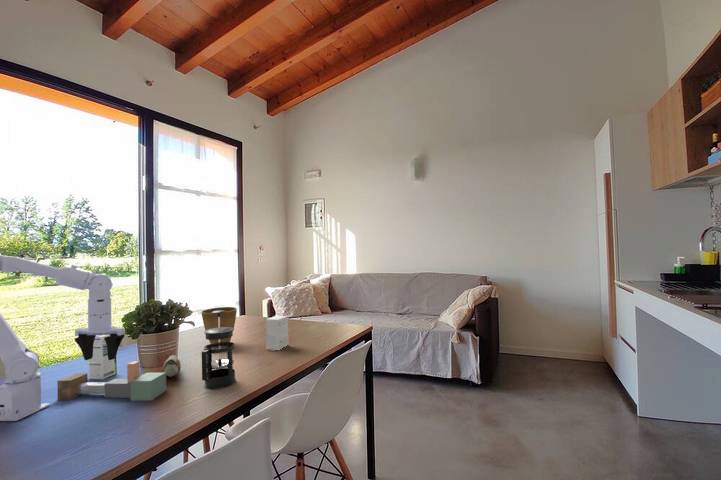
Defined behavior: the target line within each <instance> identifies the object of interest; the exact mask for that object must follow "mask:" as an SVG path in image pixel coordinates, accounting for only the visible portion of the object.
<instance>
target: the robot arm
mask: <svg viewBox="0 0 721 480" xmlns="http://www.w3.org/2000/svg"><path fill="white" fill-rule="evenodd" d="M0 272H1V273H2V274H4V273H11V272H21V273H26V274H31V275H35V276H41V277H44V278H48V279H49V278H50V279H54V281H55V283H56V284H57V285H58V286H63V287H67V288H71V289H76V290H81V291H85V290H88V299H87V327H83V328H82V327H80V328H76V329H74V336H75V338H74V341H75V343H76V345H78V347H79V349H80V351H81V353H82V356H83V359H84V361H89V359H92V357H93V344H94V340H95V336H96V335H110V336H108V337H105V338H104V340H105V342H106V345H107V349H108V359H109V360H112V359H115V358H116V359H117V354H118V351H119V347H120V346H121V343H122V341H123V339H124V338H125V333H126V327H120V326H118V327H117V326H113V325H112V298H111V294H112V293H111V289H112V287H113V283H112V279H111V278H110V277H109V276H107V275H105V274H102V273H97V271H96V270H91V271H90V270H85V269H82V268H79V267H78V265H74V264H71V266H70V265H64V266H62V267H55V266H52V265H48V264H44V263H40V262H37V261H33V260H30V259H26V258H22V257H18V256H13V255H12V256H10V255H5V254H4V255H3V254H0ZM0 360H1V362H2V364H3V365H4V367H5V371H4V372H5V373H4V374H5V376H6V378H5V379H4V383H3V384H2V385H1V386H0V422H17V421H19V420H21V419H23V418H25V417H28V416H30V415H33V414H34V413H36V412H39V411H40V410H43V409H45V408H47V407H49V406H51V403H43V402H42V373H41V372H39V371H38V370H39V363H40V356H39V354H38V353H37V352H35V351H33V350H31V349H29V348H28V347H27V345H26V344H25V343H24V342H22V341H21V340H20V339H19V337H18V335H17V334H16V333H15V331H14V330H13V329H12V327H11V326H10V324H9V323H8V322H7V320H6V319H5V317H4V316H3V314H2V313H1V312H0Z"/></svg>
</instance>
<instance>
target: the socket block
mask: <svg viewBox="0 0 721 480" xmlns="http://www.w3.org/2000/svg"><path fill="white" fill-rule="evenodd" d="M166 391H167V383H166V372H165V373H164V372H146V373H144V374H141V375H140V376H139V377H137V378H136V379H134V380H132V381H131V398H130V401H152V400H154V399H155V398H157V397H158V396H161V395H162V394H163V393H165V392H166Z"/></svg>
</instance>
